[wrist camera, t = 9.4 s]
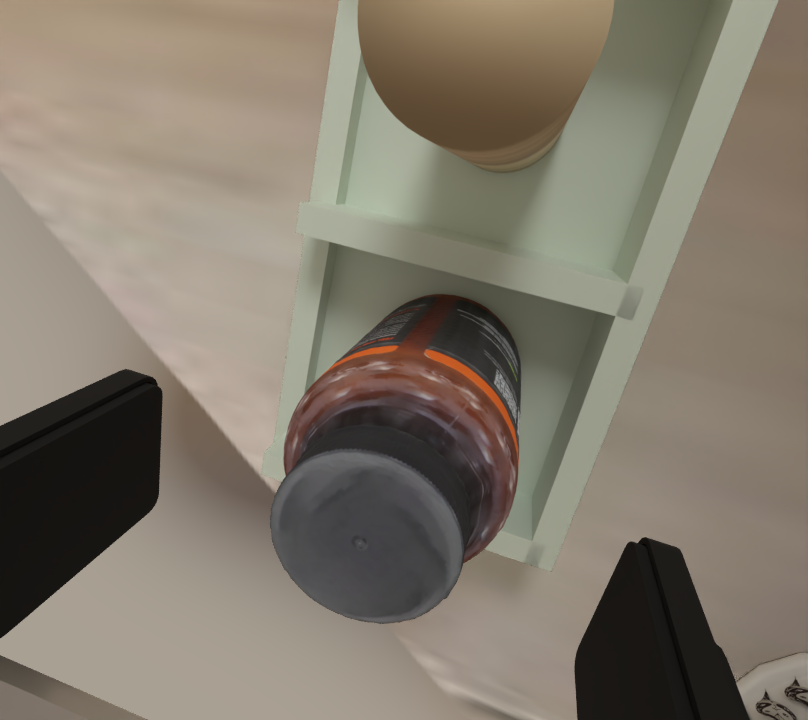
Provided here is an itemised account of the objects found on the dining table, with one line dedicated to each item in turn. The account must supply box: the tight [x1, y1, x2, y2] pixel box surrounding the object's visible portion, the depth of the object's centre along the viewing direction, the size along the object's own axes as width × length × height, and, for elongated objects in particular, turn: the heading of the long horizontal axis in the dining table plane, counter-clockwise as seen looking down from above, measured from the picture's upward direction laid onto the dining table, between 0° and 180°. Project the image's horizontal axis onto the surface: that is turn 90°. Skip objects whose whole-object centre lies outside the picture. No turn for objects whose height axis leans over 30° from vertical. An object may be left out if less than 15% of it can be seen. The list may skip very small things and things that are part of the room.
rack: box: [261, 0, 778, 572], centre depth 18 cm, size 20×12×4 cm, turn 168°
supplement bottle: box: [270, 294, 521, 624], centre depth 15 cm, size 6×6×11 cm
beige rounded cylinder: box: [358, 0, 614, 173], centre depth 13 cm, size 4×4×10 cm
